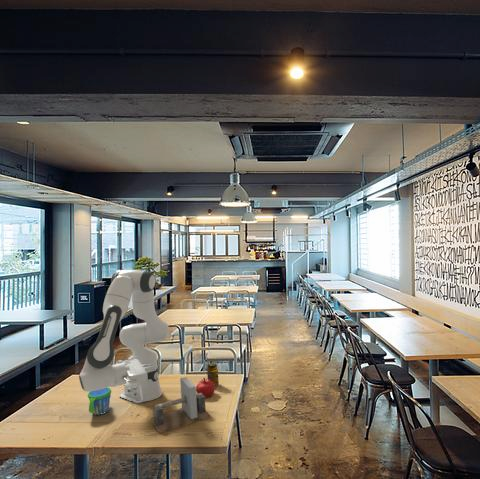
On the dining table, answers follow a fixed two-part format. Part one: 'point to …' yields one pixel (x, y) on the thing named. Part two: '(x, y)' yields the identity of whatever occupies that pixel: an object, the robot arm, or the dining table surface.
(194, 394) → the grey slab
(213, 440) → the dining table surface
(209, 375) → the condiment
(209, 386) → the pomegranate
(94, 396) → the snack cup
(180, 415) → the pipe rig
